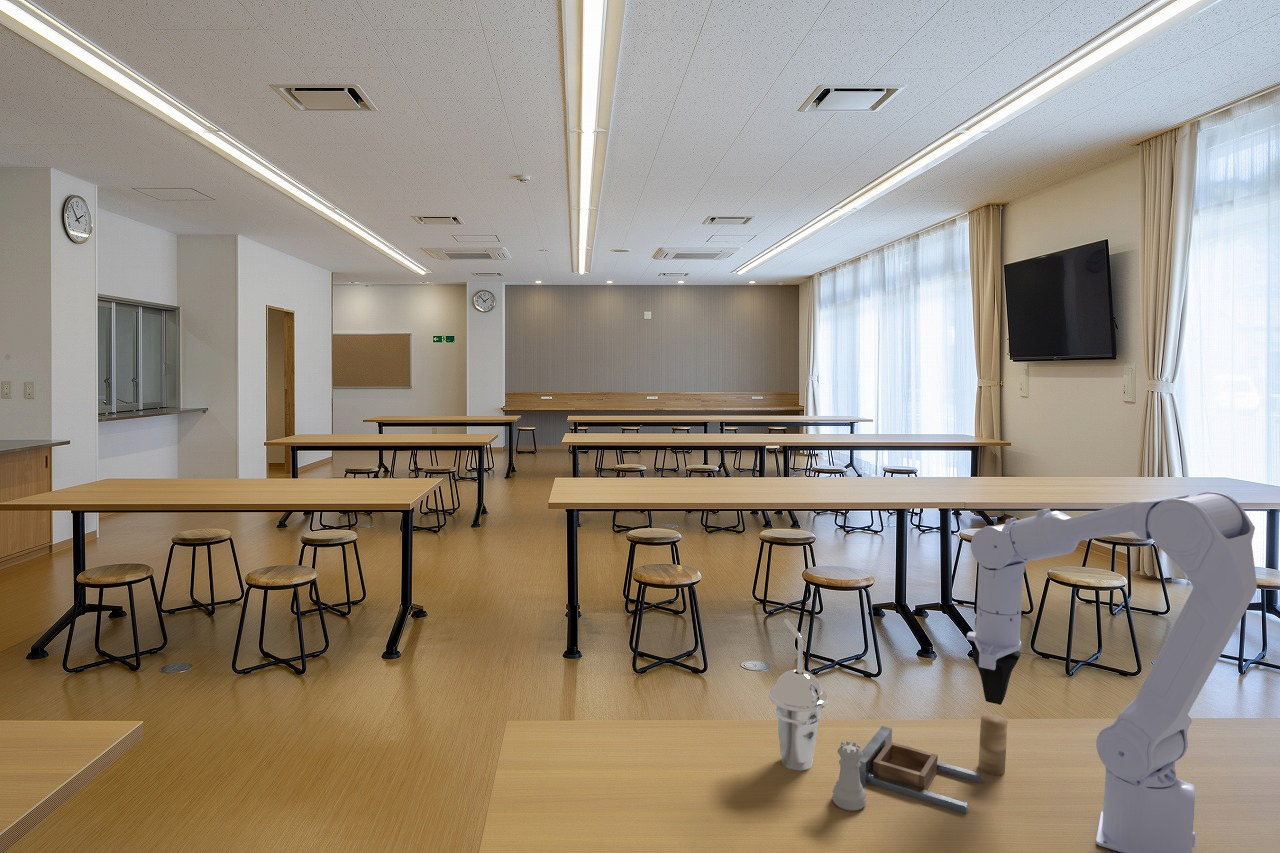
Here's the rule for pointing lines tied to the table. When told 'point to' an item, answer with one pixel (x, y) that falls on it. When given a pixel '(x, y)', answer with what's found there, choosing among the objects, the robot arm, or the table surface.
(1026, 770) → the table surface
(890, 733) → the rail
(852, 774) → the rook chess piece
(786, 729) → the cup with straw
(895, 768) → the walnut socket block
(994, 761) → the oak dowel
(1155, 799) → the robot arm
